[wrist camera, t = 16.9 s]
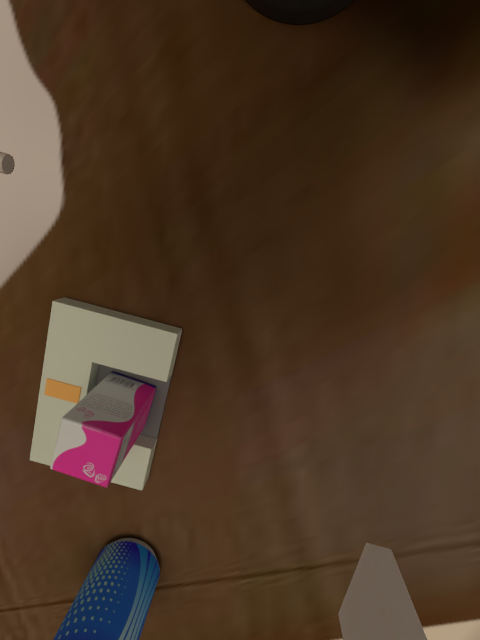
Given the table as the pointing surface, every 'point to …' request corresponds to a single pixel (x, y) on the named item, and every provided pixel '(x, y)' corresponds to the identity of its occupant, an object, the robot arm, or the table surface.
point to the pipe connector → (6, 163)
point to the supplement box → (102, 429)
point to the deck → (102, 374)
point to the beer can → (114, 594)
